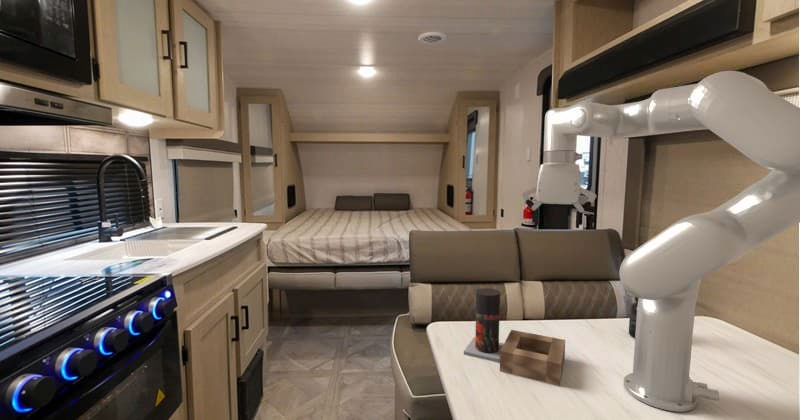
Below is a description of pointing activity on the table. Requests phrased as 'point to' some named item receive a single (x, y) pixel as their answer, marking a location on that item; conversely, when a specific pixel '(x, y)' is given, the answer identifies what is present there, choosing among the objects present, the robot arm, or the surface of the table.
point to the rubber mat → (474, 352)
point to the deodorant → (487, 320)
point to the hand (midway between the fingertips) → (556, 226)
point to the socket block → (533, 357)
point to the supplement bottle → (633, 318)
